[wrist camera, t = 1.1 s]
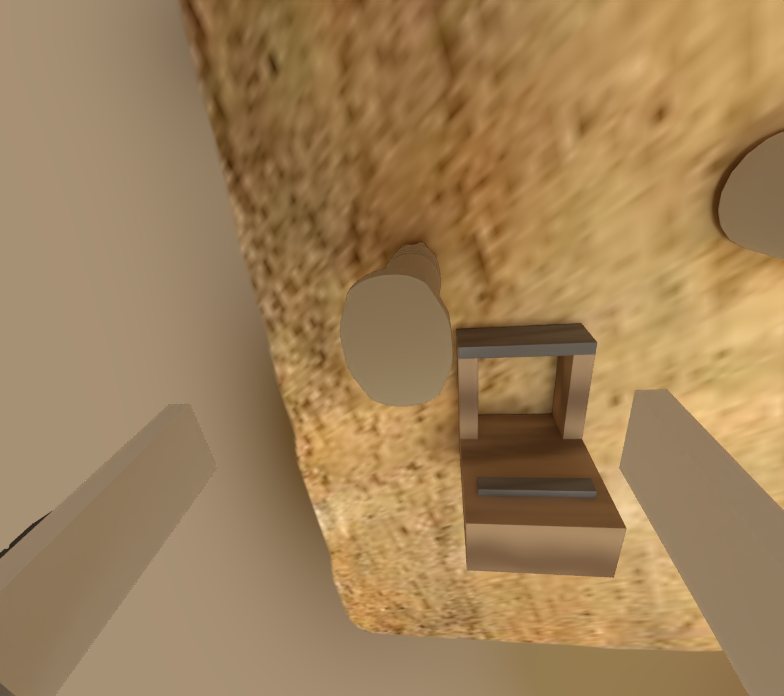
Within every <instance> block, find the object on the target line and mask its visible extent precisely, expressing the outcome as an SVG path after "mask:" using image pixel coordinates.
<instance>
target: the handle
mask: <svg viewBox="0 0 784 696" xmlns="http://www.w3.org/2000/svg"><path fill="white" fill-rule="evenodd" d="M440 287H441V278H440V269H439V265H438V262H437V258H436V256H434V254H433V253H432V252H431V251H430V250H429V249H427V247H426V244H424V243H422V242H419V243H418V244H415V245H408V244H405V245H404V246H402V247H401V248H400V250H398V251H397V252H396V253H395V254H394V255H393V256H392V258H391V259H390V260H389V262H388V264H387V265H386V267H385V269H383V270H379V271H375V272H372V273H370V274H367V275H365V276H364V277H363V278H361V279H360V280H358V281H357V282H356V283H355V284H354V285H353V286H352V287H351V288H350V290H349V291H348V293H347V297H346V301H345V304H344V308H343V312H342V317H341V322H340V338H341V344H342V348H343V352H344V356H345V360H346V363H347V366H348V369H349V371H350V372H351V374H352V376H353V377H354V379H355V380H356V381H357V383H358V384H359V385H360V386H361V388H362V389H363V390H364V391H365V392H366V394H367V395H368V396H369V397H370V398H371V399H372V400H374V401H376V402H378V403H381V404H385V405H390V406H413V405H419V404H422V403H426V402H428V401H430V400H432V399H434V398H435V397H437V396H438V395H440V393H441V391H442V388H443V386H444V384H445V382H446V379H447V377H448V375H449V372H450V369H451V365H452V362H453V345H452V334H451V324H450V316H449V312H448V310H447V308H446V306H445V304H444V302H443V301H442V299H441V297H440V296H439V293H440Z"/></svg>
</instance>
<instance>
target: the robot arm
mask: <svg viewBox="0 0 784 696" xmlns="http://www.w3.org/2000/svg"><path fill="white" fill-rule="evenodd" d="M619 468H620V470H621V472H622V473H623V475H624V477H625V479H626V480H627V482H628V484H629V486H630V487H631V489H632V491H633V493H634V494H635V496H636V498H637V500H638V501H639V503H640V505H641V507H642V508H643V510H644V512H645V514H646V515H647V517H648V519H649V521H650V522H651V524H652V526H653V528H654V529H655V531H656V533H657V535H658V536H659V538H660V540H661V542H662V544H663V545H664V547H665V549H666V551H667V552H668V554H669V556H670V558H671V559H672V561H673V563H674V565H675V566H676V568H677V570H678V572H679V573H680V575H681V577H682V579H683V580H684V582H685V584H686V586H687V587H688V589H689V591H690V593H691V594H692V596H693V598H694V600H695V601H696V603H697V605H698V607H699V608H700V610H701V612H702V614H703V616H704V617H705V619H706V621H707V623H708V624H709V626H710V628H711V630H712V631H713V633H714V635H715V637H716V638H717V640H718V642H719V644H720V645H721V647H722V649H723V651H724V652H725V654H726V656H727V658H728V659H729V661H730V663H731V665H732V666H733V668H734V670H735V672H736V673H737V675H738V677H739V679H740V680H741V682H742V684H743V686H744V687H745V689H746V691H747V693H748V695H749V696H784V510H783V509H782V508H781V507H780V506H779V505H778V504H777V503H776V502H775V501H774V500H773V499H772V498H771V497H770V496H769V495H768V494H767V493H766V492H765V491H764V490H763V489H762V488H761V486H760V485H759V484H758V483H757V482H756V481H755V480H754V479H753V478H752V477H751V476H750V475H749V474H748V473H747V472H746V471H745V470H744V469H743V468H742V467H741V466H740V465H739V464H738V463H737V462H736V461H735V460H734V458H733V457H732V456H731V455H730V454H729V453H728V452H727V451H726V450H725V449H724V448H723V447H722V446H721V445H720V444H719V443H718V442H717V441H716V440H715V439H714V438H713V437H712V436H711V435H710V434H709V433H708V431H707V430H706V429H705V428H704V427H703V426H702V425H701V424H700V423H699V422H698V421H697V420H696V419H695V418H694V417H693V416H692V415H691V414H690V413H689V412H688V411H687V410H686V409H685V408H684V407H683V406H682V405H681V403H680V402H679V401H678V400H677V399H676V398H675V397H674V396H673V395H672V394H671V393H670V392H669V391H668V390H667V389H660V390H635V393H634V398H633V403H632V408H631V413H630V418H629V423H628V428H627V433H626V438H625V442H624V447H623V452H622V457H621V462H620V467H619ZM216 470H217V465H216V463H215V461H214V458H213V456H212V454H211V451H210V449H209V447H208V444H207V442H206V440H205V437H204V435H203V433H202V431H201V428H200V426H199V423H198V421H197V419H196V416H195V414H194V412H193V410H192V407H191V405H190V404H174V405H173V404H171V405H168V406H167V407H166V408H165V409H164V410H162V411H161V412H160V413H159V414H158V415H157V416H156V417H155V418H154V419H153V420H151V421H150V422H149V423H148V424H147V425H146V426H145V427H144V428H143V429H142V430H141V431H139V432H138V433H137V434H136V435H135V436H134V437H133V438H132V439H131V440H130V441H129V442H127V443H126V444H125V445H124V446H123V447H122V448H121V449H120V450H119V451H118V452H116V453H115V454H114V455H113V456H112V457H111V458H110V459H109V460H108V461H107V462H105V463H104V464H103V465H102V466H101V467H100V468H99V469H98V470H97V471H96V472H95V473H93V474H92V475H91V476H90V477H89V478H88V479H87V480H86V481H85V482H84V483H83V484H81V485H80V486H79V487H78V488H77V489H76V490H75V491H74V492H73V493H72V494H71V495H69V496H68V497H67V498H66V499H65V500H64V501H63V502H62V503H61V504H60V505H58V506H57V507H56V508H55V509H54V510H53V511H51V512H50V513H48V514H47V515H45V516H44V517H42V518H41V519H39V520H38V521H36V522H35V523H33V524H32V525H31V526H30V527H29V528H27V529H26V530H25V531H24V532H23V533H22V534H21V535H20V536H18V537H17V538H16V539H15V540H14V541H13V542H12V543H11V544H10V545H9V548H8V549H4V550H3V551H2V552H1V553H0V696H55V695H56V694H57V692H58V691H59V690H60V688H61V687H62V685H63V684H64V683H65V681H66V680H67V678H68V677H69V676H70V674H71V673H72V671H73V670H74V669H75V667H76V666H77V664H78V663H79V662H80V660H81V659H82V657H83V656H84V655H85V653H86V652H87V650H88V649H89V648H90V646H91V645H92V643H93V642H94V641H95V639H96V638H97V636H98V635H99V634H100V632H101V631H102V629H103V628H104V627H105V625H106V624H107V622H108V621H109V620H110V618H111V617H112V615H113V614H114V613H115V611H116V610H117V608H118V607H119V605H120V604H121V603H122V601H123V600H124V599H125V597H126V596H127V594H128V593H129V592H130V590H131V589H132V587H133V586H134V585H135V583H136V582H137V580H138V579H139V578H140V576H141V575H142V573H143V572H144V571H145V569H146V568H147V566H148V565H149V564H150V562H151V561H152V559H153V558H154V557H155V555H156V554H157V553H158V551H159V550H160V548H161V547H162V546H163V544H164V543H165V541H166V540H167V538H168V537H169V536H170V534H171V533H172V532H173V530H174V529H175V527H176V526H177V524H178V523H179V522H180V520H181V519H182V517H183V516H184V515H185V513H186V512H187V511H188V509H189V508H190V506H191V505H192V503H193V502H194V501H195V499H196V498H197V497H198V495H199V494H200V492H201V491H202V489H203V488H204V487H205V485H206V484H207V483H208V481H209V480H210V478H211V477H212V476H213V474H214V473H215V471H216Z"/></svg>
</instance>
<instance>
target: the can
mask: <svg viewBox="0 0 784 696" xmlns="http://www.w3.org/2000/svg"><path fill="white" fill-rule="evenodd" d="M718 214H719V219H720V225H721V228H722V230H723V231H724V232H725V234H726V235H727V237H728V238H729V240H731V241H733V242H734V243H736V244H738V245H739V246H741V247H743V248H746V249H749V250H753V251H756V252H759V253H762V254H766V255H769V256H772V257H776V258H779V259H782V260H784V131H783V132H781V133H778V134H776V135H774V136H772V137H770V138H768V139H766V140H765V141H764V142H762V143H761V144H760V145H759V146H757V147H756V148H755V149H753V150H752V151H751V152H749V153H748V154H747V155H746V156H745V157H744V159H743V160H742V161H741V162H740V163H739V165H738V166H737V167H736V168H735V169H734V170H733V172H732V173H731V175H730V177H729V179H728V181H727V183H726V185H725V187H724V189H723V191H722V193H721V198H720V203H719V209H718Z"/></svg>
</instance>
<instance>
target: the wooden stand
mask: <svg viewBox="0 0 784 696" xmlns="http://www.w3.org/2000/svg"><path fill="white" fill-rule="evenodd" d="M456 333H457V371H458V408H459V445H460V467H461V483H462V498H463V514H464V530H465V546H466V562H467V570H473V571H494V572H514V573H534V574H554V575H574V576H594V577H614V575H615V571H616V567H617V563H618V559H619V556H620V552H621V548H622V544H623V540H624V536H625V533H626V526H625V524H624V522H623V520H622V518H621V516H620V514H619V512H618V510H617V508H616V506H615V504H614V502H613V500H612V498H611V496H610V494H609V492H608V490H607V488H606V486H605V484H604V482H603V480H602V478H601V476H600V474H599V472H598V470H597V468H596V466H595V464H594V462H593V460H592V458H591V456H590V454H589V452H588V450H587V448H586V446H585V444H584V442H583V440H582V436H583V429H584V423H585V417H586V410H587V404H588V398H589V391H590V385H591V379H592V372H593V366H594V360H595V353H596V347H597V342H596V340H595V339H594V338H593V337H592V336H591V334H590V333H589V332H588V331H587V330H586V328H585V327H584V326H583V325H582V324H558V325H536V326H513V327H491V328H469V329H456ZM535 356H558V364H557V373H556V382H555V391H554V401H553V410H552V414H498V415H478V358H504V357H535Z"/></svg>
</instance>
